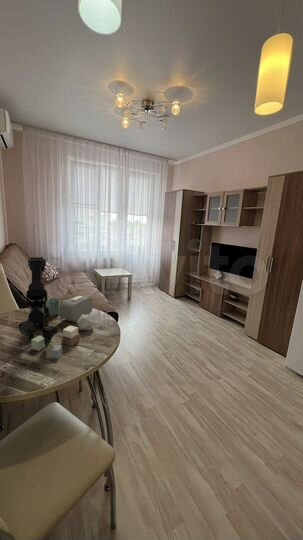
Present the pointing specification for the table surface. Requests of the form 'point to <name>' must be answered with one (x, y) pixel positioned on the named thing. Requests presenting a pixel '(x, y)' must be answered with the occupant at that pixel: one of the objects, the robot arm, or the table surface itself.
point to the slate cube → (55, 351)
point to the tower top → (70, 331)
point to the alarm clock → (75, 308)
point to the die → (85, 322)
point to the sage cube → (38, 343)
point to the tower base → (71, 340)
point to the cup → (53, 306)
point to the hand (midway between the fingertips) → (39, 344)
